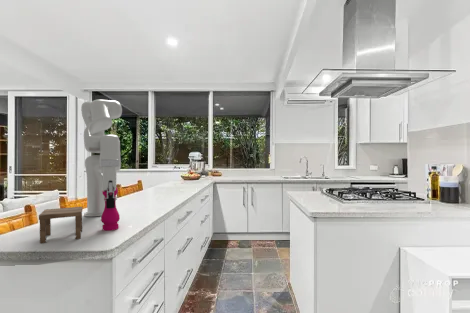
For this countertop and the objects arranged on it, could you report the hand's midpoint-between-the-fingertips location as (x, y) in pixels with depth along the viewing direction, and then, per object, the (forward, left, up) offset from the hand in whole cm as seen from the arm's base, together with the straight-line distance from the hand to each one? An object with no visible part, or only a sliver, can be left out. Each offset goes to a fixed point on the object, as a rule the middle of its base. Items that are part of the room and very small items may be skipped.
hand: (110, 206), depth 119 cm
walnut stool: (+4, -17, -9) cm, 20 cm away
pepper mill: (0, 0, -10) cm, 10 cm away
